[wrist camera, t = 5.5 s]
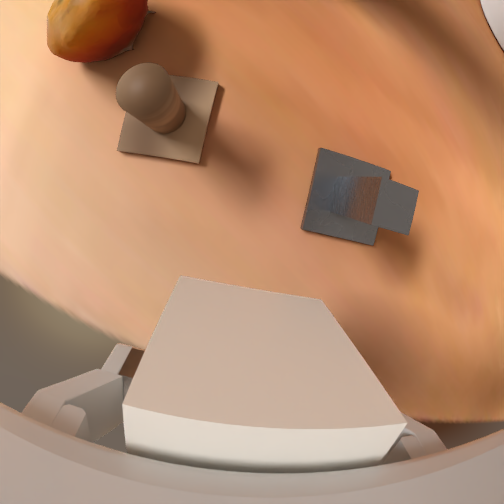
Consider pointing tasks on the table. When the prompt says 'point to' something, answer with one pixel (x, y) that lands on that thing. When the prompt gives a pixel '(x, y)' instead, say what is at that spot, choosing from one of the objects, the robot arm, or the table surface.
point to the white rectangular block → (255, 386)
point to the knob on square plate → (164, 113)
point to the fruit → (94, 28)
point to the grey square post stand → (356, 199)
